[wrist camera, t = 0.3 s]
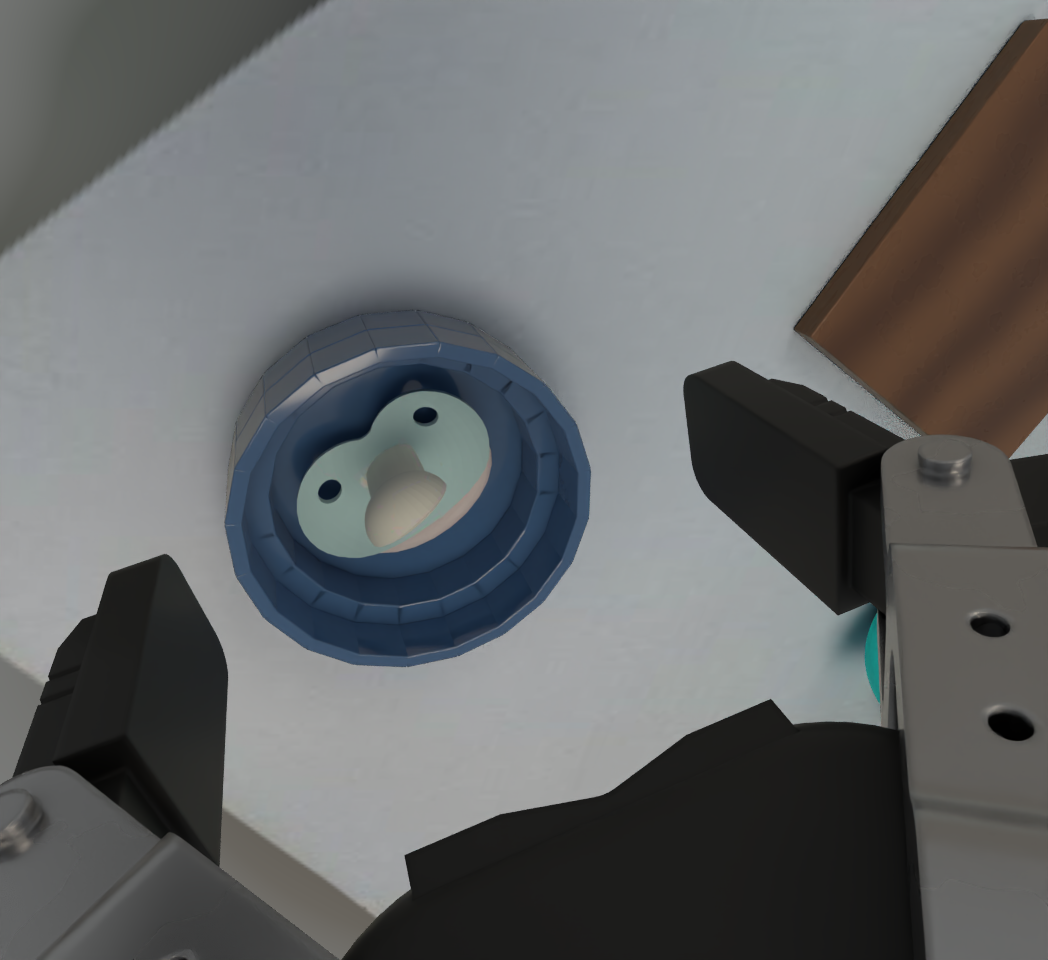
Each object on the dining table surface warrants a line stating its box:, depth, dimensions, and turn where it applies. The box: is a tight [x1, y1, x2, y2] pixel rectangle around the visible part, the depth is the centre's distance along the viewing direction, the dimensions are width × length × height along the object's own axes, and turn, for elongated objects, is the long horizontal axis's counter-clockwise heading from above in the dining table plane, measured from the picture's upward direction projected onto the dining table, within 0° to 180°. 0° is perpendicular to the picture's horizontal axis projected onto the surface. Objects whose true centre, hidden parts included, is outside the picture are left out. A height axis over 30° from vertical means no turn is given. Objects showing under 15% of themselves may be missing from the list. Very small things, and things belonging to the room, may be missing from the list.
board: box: [794, 19, 1048, 458], centre depth 34 cm, size 15×14×1 cm
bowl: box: [225, 310, 591, 667], centre depth 28 cm, size 12×12×4 cm
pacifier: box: [297, 389, 492, 558], centre depth 27 cm, size 7×6×6 cm
